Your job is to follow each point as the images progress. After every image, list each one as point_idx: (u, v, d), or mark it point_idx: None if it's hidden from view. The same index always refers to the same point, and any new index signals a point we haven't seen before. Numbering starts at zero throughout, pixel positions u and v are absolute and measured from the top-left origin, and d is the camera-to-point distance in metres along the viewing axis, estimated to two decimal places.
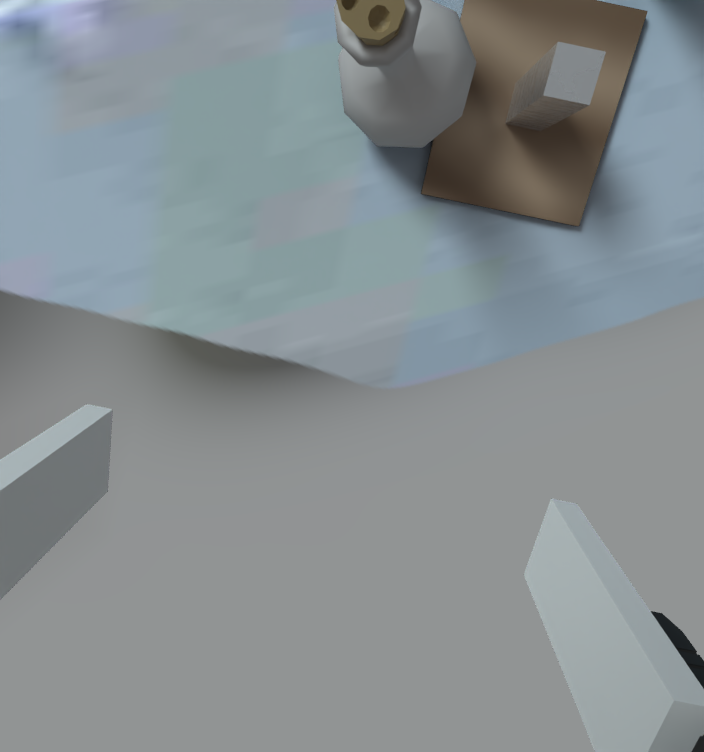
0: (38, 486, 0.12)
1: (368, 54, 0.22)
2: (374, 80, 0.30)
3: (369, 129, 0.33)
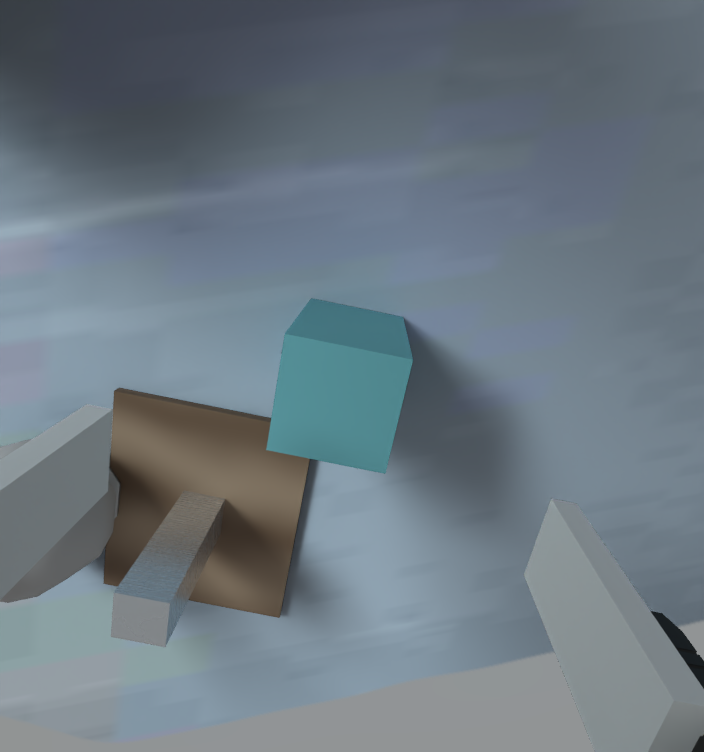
0: (38, 486, 0.12)
1: None
2: None
3: None
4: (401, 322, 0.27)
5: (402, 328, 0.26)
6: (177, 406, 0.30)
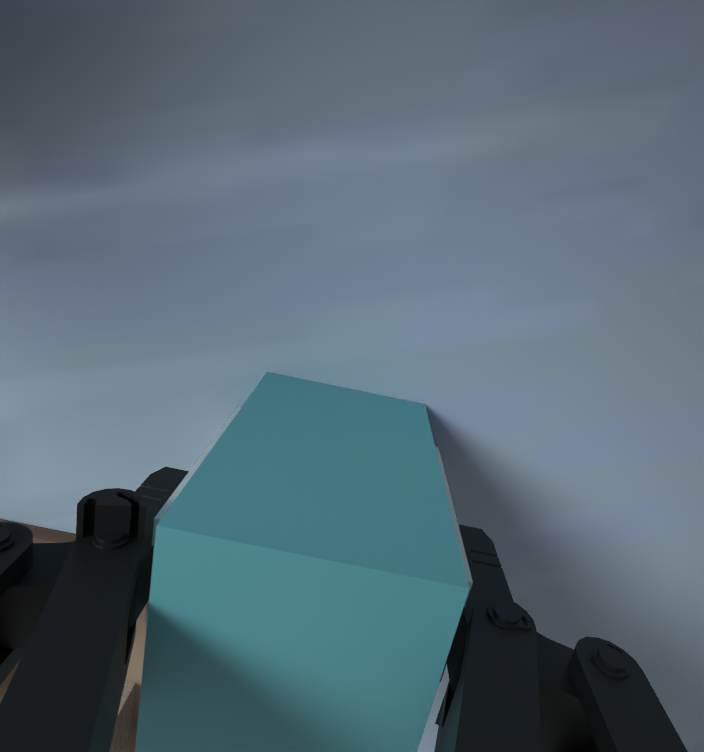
0: None
1: None
2: None
3: None
4: (424, 422, 0.15)
5: (428, 443, 0.14)
6: None
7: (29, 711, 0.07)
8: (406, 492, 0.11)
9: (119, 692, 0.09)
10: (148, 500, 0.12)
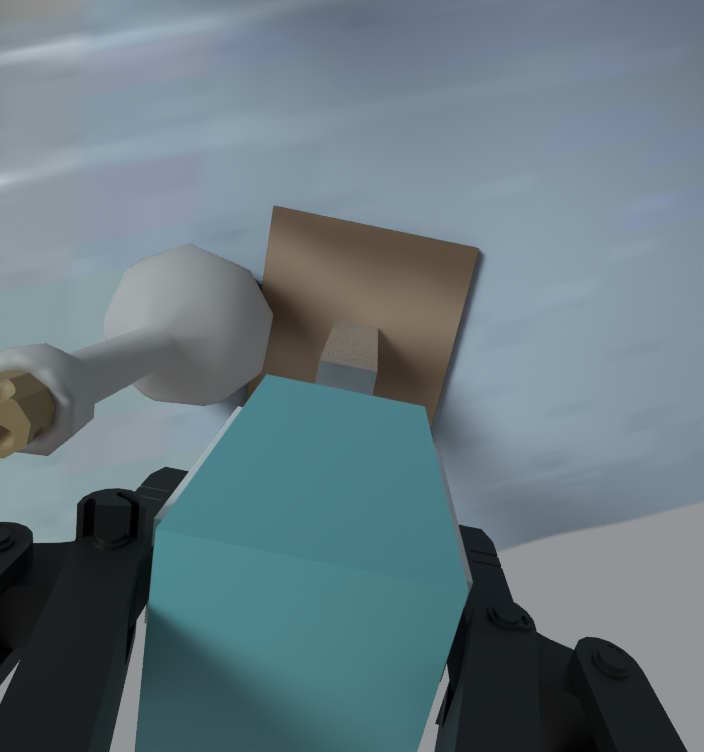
0: None
1: None
2: None
3: None
4: (424, 424, 0.15)
5: (428, 445, 0.14)
6: (338, 222, 0.29)
7: (29, 711, 0.07)
8: (405, 495, 0.11)
9: (119, 692, 0.09)
10: (148, 500, 0.12)
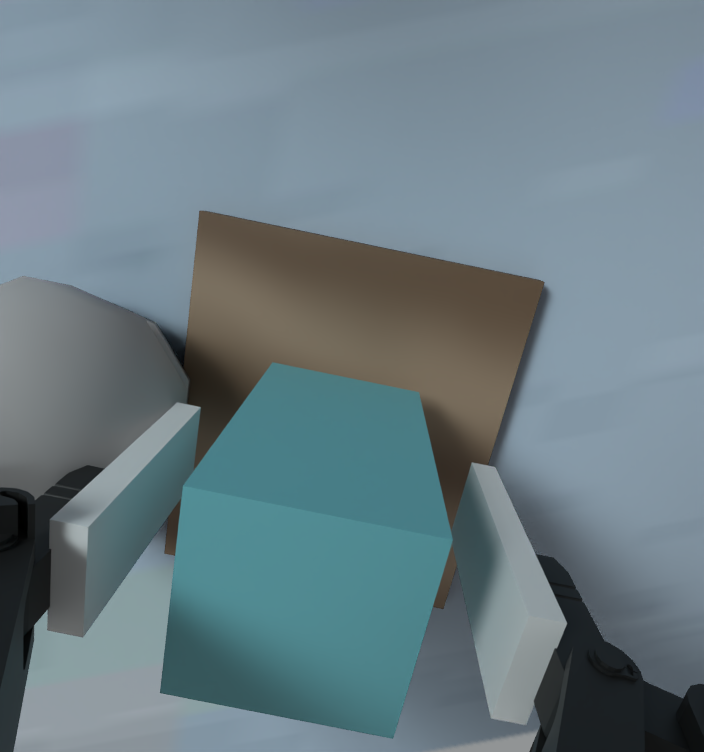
0: (154, 475, 0.13)
1: None
2: None
3: None
4: (417, 407, 0.16)
5: (421, 425, 0.15)
6: (308, 238, 0.18)
7: None
8: (400, 464, 0.12)
9: (18, 698, 0.09)
10: (58, 500, 0.11)
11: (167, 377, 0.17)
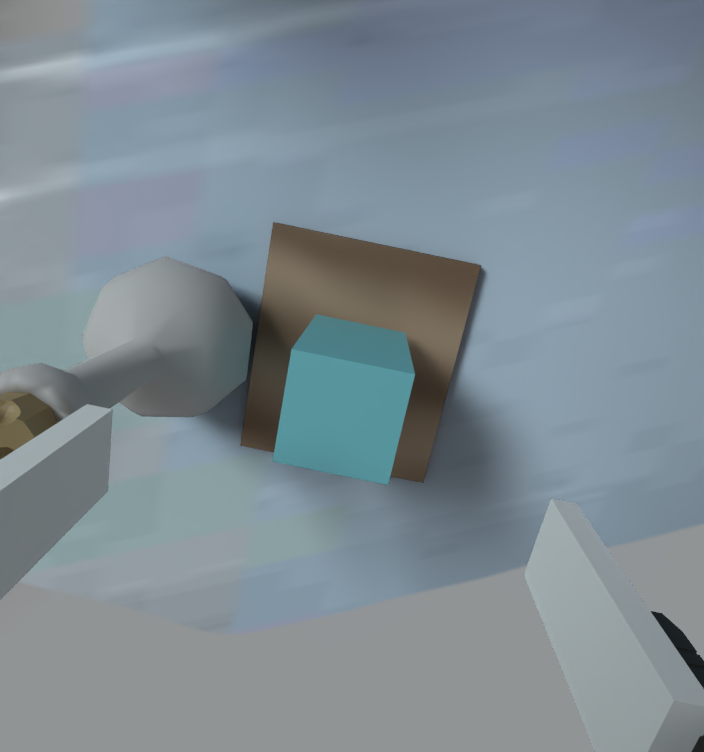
0: (37, 486, 0.12)
1: None
2: None
3: None
4: (403, 337, 0.28)
5: (404, 343, 0.27)
6: (338, 239, 0.29)
7: None
8: (391, 354, 0.24)
9: None
10: None
11: (245, 312, 0.29)
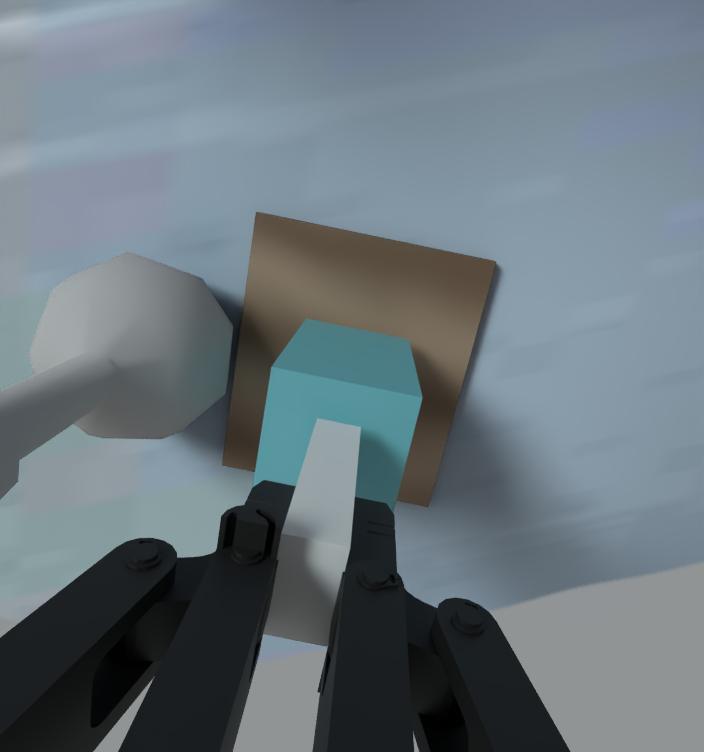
0: None
1: None
2: None
3: None
4: (407, 346, 0.24)
5: (408, 354, 0.23)
6: (331, 231, 0.25)
7: (165, 716, 0.07)
8: (393, 369, 0.20)
9: (241, 709, 0.09)
10: None
11: (224, 316, 0.25)
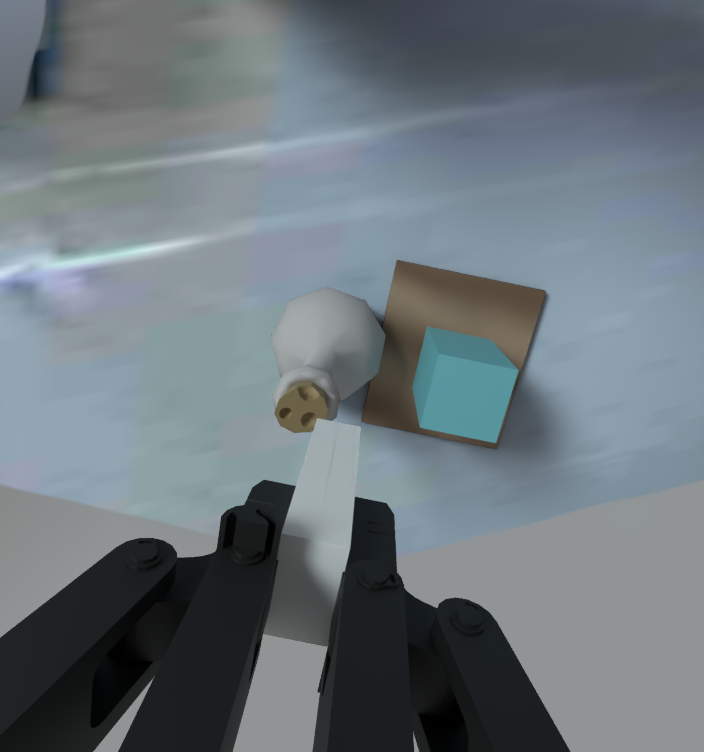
0: None
1: None
2: None
3: None
4: (493, 343, 0.40)
5: (497, 348, 0.38)
6: (443, 272, 0.41)
7: (165, 716, 0.07)
8: (495, 356, 0.35)
9: (241, 709, 0.09)
10: None
11: None
